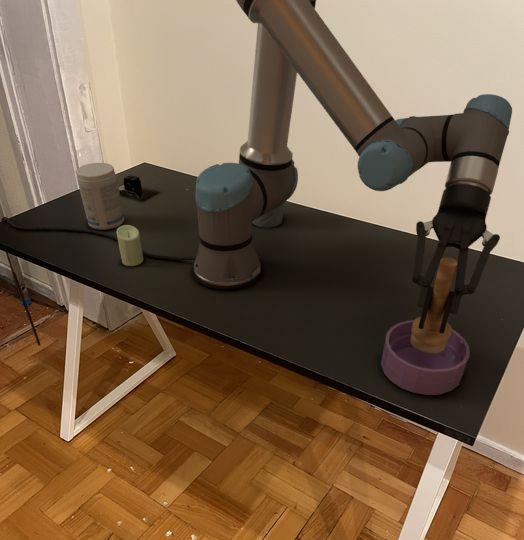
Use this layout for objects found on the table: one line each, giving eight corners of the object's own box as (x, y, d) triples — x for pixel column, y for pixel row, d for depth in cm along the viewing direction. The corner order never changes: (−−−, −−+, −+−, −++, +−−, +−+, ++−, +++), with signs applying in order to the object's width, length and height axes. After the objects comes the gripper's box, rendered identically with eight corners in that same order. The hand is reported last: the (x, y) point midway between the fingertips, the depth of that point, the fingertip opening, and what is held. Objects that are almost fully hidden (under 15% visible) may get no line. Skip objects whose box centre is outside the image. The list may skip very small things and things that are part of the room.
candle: (147, 262, 123) (142, 230, 118) (127, 268, 121) (121, 236, 116) (138, 253, 127) (132, 222, 121) (118, 259, 124) (112, 228, 119)
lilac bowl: (368, 377, 93) (372, 351, 89) (397, 336, 102) (402, 311, 98) (446, 408, 87) (455, 382, 83) (470, 362, 96) (479, 336, 92)
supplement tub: (124, 214, 144) (115, 160, 134) (125, 229, 137) (115, 174, 127) (88, 217, 142) (76, 163, 133) (87, 233, 135) (74, 177, 126)
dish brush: (403, 346, 90) (421, 264, 79) (416, 327, 94) (435, 247, 84) (440, 359, 87) (463, 276, 77) (451, 339, 91) (475, 258, 81)
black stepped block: (110, 192, 155) (107, 177, 152) (126, 184, 160) (124, 169, 157) (142, 201, 150) (139, 185, 147) (158, 192, 155) (156, 177, 152)
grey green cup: (252, 230, 136) (252, 185, 129) (244, 214, 144) (243, 171, 136) (289, 226, 138) (291, 182, 131) (279, 210, 146) (280, 168, 138)
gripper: (514, 208, 86) (479, 344, 85) (418, 194, 91) (384, 322, 90) (523, 189, 79) (485, 337, 78) (419, 174, 84) (381, 314, 83)
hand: (431, 329), depth 84 cm, fingers closed on dish brush, 3 cm apart
